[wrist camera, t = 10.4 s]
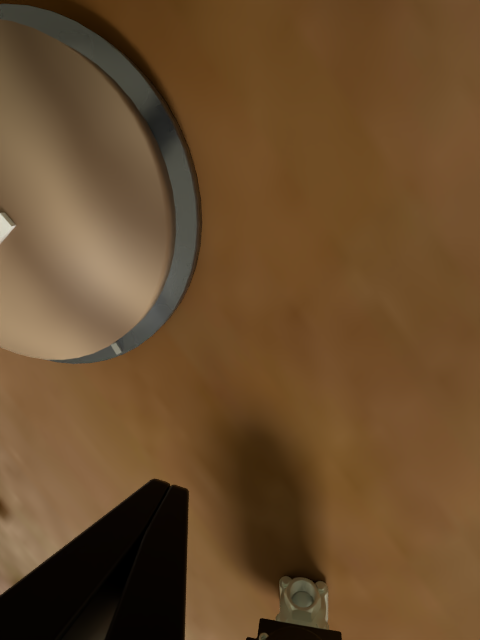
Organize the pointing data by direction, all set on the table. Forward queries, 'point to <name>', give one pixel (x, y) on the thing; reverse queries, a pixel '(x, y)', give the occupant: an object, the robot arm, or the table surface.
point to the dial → (75, 202)
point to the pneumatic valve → (299, 613)
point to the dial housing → (172, 153)
